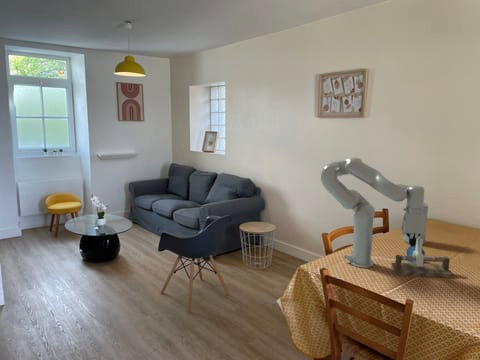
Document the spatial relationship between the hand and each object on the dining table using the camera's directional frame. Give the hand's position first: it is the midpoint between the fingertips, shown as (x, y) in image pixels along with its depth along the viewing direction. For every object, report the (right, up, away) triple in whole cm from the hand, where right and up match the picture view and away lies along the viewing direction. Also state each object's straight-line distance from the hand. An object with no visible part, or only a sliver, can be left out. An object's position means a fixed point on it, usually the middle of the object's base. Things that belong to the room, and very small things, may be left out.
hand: (412, 245), depth 181 cm
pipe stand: (+5, -14, +2) cm, 15 cm away
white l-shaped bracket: (+3, -10, +1) cm, 10 cm away
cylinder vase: (+24, -7, +48) cm, 55 cm away
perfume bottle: (+9, -12, +15) cm, 21 cm away
